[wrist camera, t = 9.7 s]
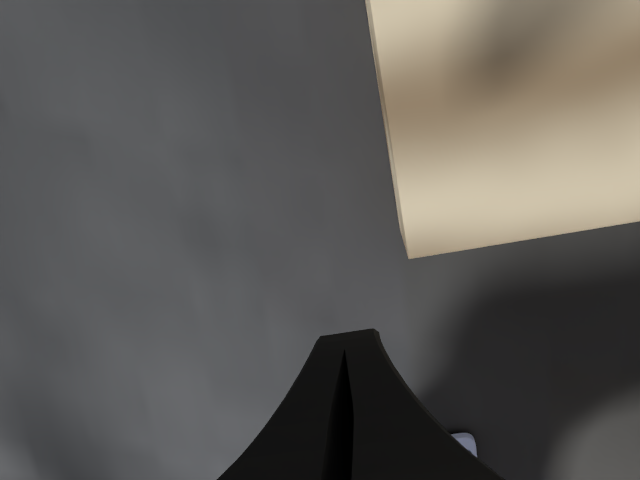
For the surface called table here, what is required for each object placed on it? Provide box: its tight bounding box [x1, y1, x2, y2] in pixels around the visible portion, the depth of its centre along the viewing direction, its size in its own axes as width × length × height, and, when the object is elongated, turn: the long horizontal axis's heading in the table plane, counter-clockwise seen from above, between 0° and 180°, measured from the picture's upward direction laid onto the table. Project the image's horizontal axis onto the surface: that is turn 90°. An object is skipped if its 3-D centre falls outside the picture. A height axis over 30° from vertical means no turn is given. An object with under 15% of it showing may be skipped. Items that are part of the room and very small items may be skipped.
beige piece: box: [365, 0, 640, 259], centre depth 18 cm, size 10×12×3 cm
